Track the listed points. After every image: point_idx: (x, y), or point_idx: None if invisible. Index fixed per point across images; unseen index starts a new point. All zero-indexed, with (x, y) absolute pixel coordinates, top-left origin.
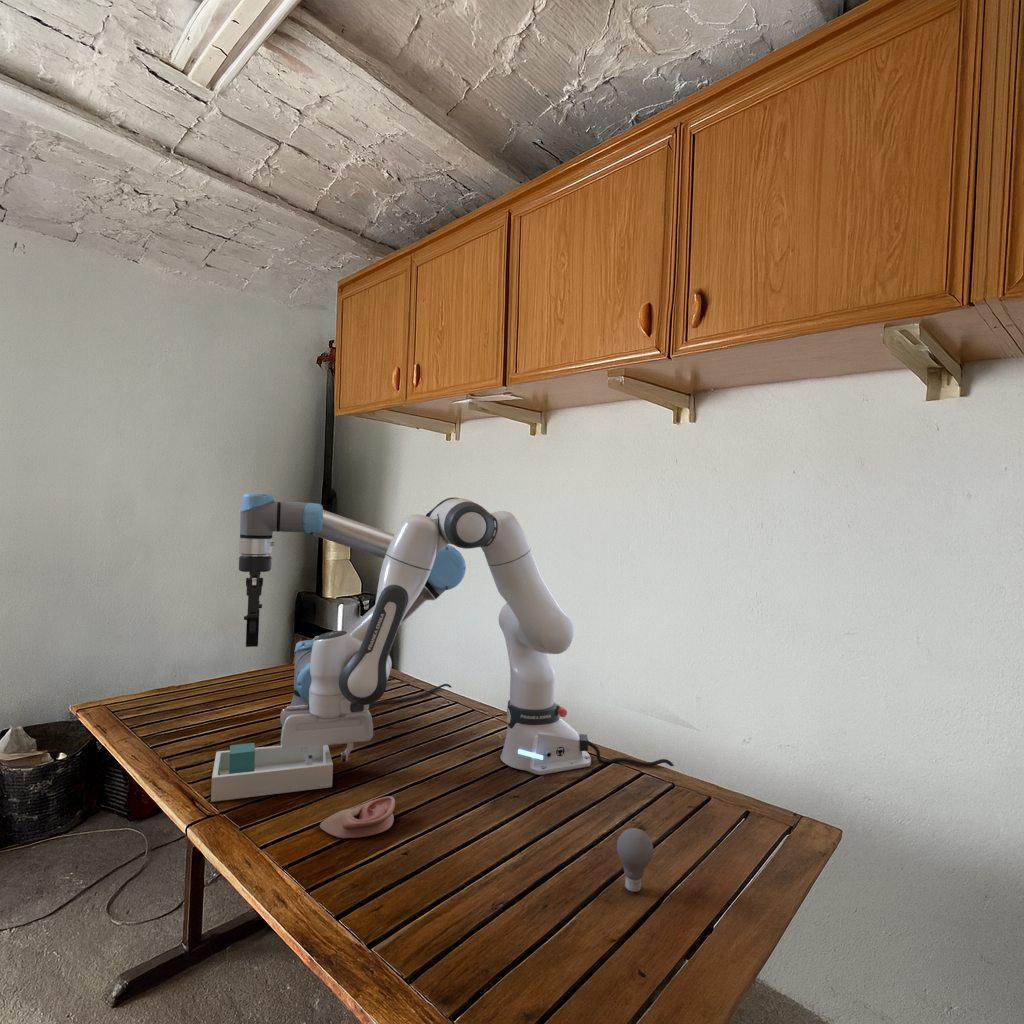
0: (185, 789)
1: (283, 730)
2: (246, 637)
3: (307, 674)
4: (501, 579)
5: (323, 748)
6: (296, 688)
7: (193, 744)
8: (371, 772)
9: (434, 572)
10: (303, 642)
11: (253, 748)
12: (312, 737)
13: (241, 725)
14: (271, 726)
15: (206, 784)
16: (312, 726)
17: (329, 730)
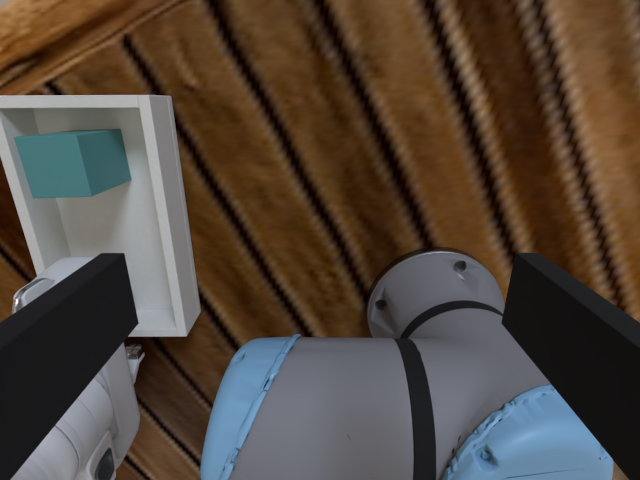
0: (91, 32)
1: (35, 278)
2: (53, 288)
3: (212, 409)
4: None
5: (164, 324)
6: (443, 317)
7: (374, 21)
8: (142, 374)
9: None
10: (506, 463)
11: (50, 194)
12: None
13: (477, 142)
14: (441, 215)
15: (114, 79)
16: None
17: None
